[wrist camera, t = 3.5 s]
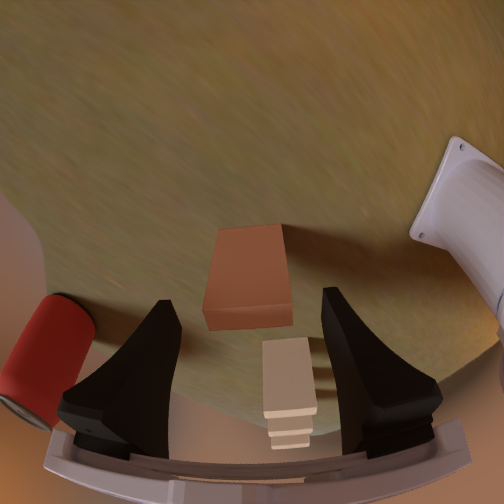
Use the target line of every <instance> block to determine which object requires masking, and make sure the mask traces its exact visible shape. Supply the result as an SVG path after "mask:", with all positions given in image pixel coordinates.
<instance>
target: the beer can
mask: <svg viewBox="0 0 504 504" xmlns="http://www.w3.org/2000/svg"><path fill="white" fill-rule="evenodd" d="M94 337H95V325H94V323H93V321H92V319H91V317H90V316H89V315H88V313H87V312H86V311H85V310H84V309H83V308H82V307H81V306H80V305H79V304H77V303H76V302H74V301H73V300H71V299H69V298H67V297H64V296H61V295H55V294H54V295H49V296H46V297H45V298H44V299H43V300H42V301H41V303H40V304H39V306H38V308H37V309H36V311H35V312H34V314H33V315H32V317H31V319H30V320H29V322H28V324H27V325H26V327H25V329H24V330H23V332H22V334H21V336H20V338H19V339H18V341H17V343H16V344H15V346H14V348H13V350H12V352H11V354H10V355H9V358H8V359H7V361H6V363H5V365H4V367H3V369H2V371H1V374H0V403H1V404H2V405H3V406H4V407H5V408H7V409H8V410H9V411H10V412H12V413H13V414H14V415H16V416H17V417H19V418H20V419H22V420H23V421H25V422H27V423H28V424H30V425H32V426H34V427H36V428H38V429H40V430H42V431H45V432H50V433H51V432H52V428H53V427H54V426H55V425H56V424H57V423H58V422H59V421H60V418H59V417H58V416H57V414H56V411H57V408H58V405H59V402H60V400H61V397H62V394H63V392H64V391H66V390H68V389H70V388H71V387H73V386H74V385H75V382H76V380H77V377H78V374H79V372H80V370H81V367H82V365H83V362H84V360H85V357H86V355H87V353H88V350H89V348H90V346H91V343H92V341H93V339H94Z"/></svg>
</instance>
